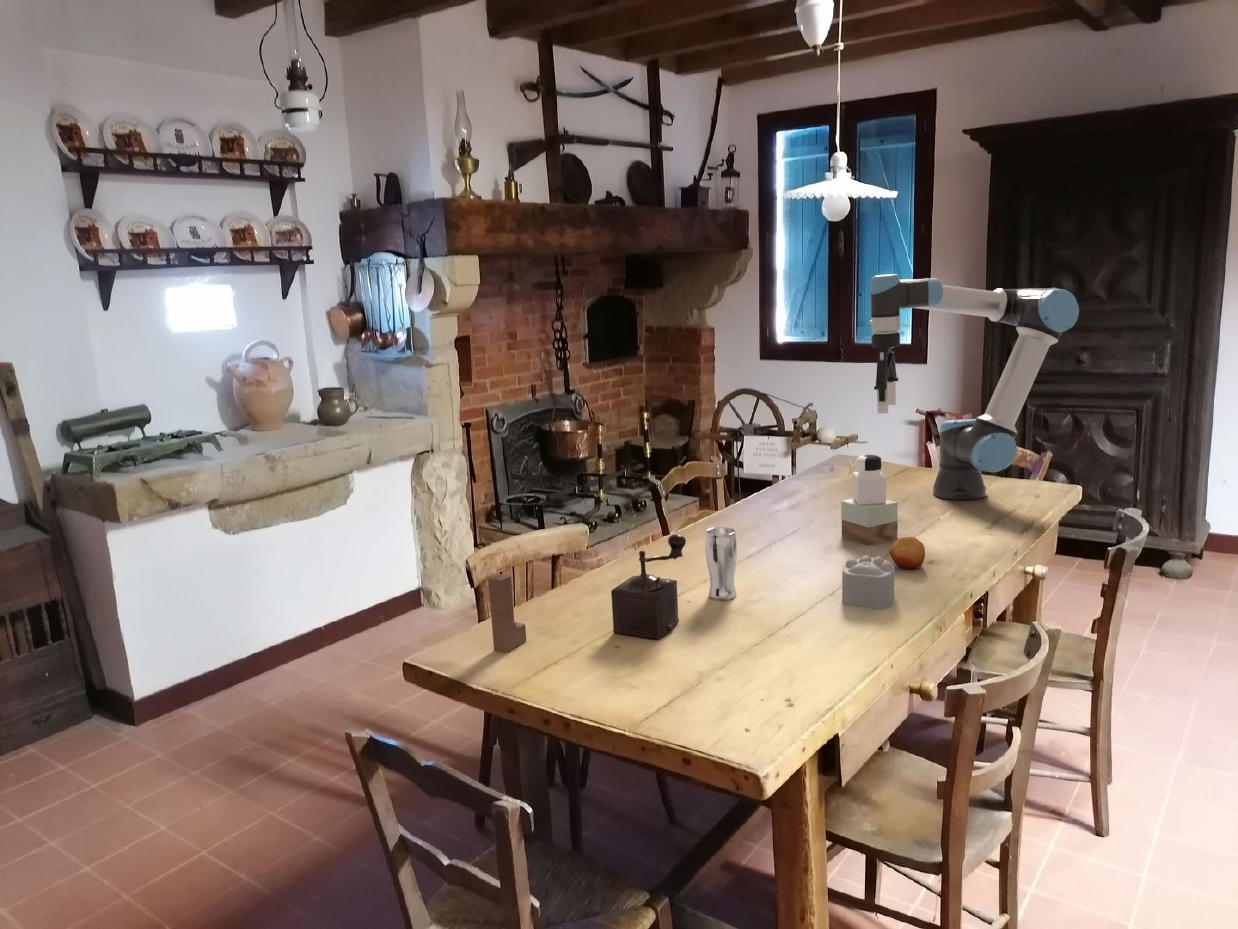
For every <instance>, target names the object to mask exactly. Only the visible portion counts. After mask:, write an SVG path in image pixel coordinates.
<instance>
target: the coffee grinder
mask: <svg viewBox="0 0 1238 929" xmlns="http://www.w3.org/2000/svg"><path fill="white" fill-rule="evenodd" d="M686 542H687V540H686V537H684V535H682V534H671V535H670V536H668V539H667V544H668V545H669V547H670V553H669V555H657V556H655V555H654V556H650V557H646V552H645V550H639V552H638V555H639V558H638V561H639V562H640V574H638V575H633V576H631V577H629V578H628V579H626V580H625V581H622V582H621V583H620V584H619V585H617V586H615V587H614V588H612V589H611V591H610V592H611V593H610V594H611V610H612V611H611V612H612V625H613V626H612V630H613V634H615V635H620V636H626V637H631V638H633V637H634V638H638V639H645V640H651V641H659V640H660V639H662V638H664V637H665V636H666V635H667V634H669V633H670V632H672V631H673V629H674V628H675V627H676V626H677V625H678V624H679V622H680V619H679V605H678V604H679V603H678V602H679V601H678V585H677V584H678V581H677V580H676V579H669V578H662V577H660V576H658V577H657V576H655V575H654V574H648V573H646V563H650V562H653V561H667V560H671V559H672V560H673V559H674V560H676V559H678V558H682V557H683V553H682V552H683V551H682V550H683V548H684V547H685V546H686Z"/></svg>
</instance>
